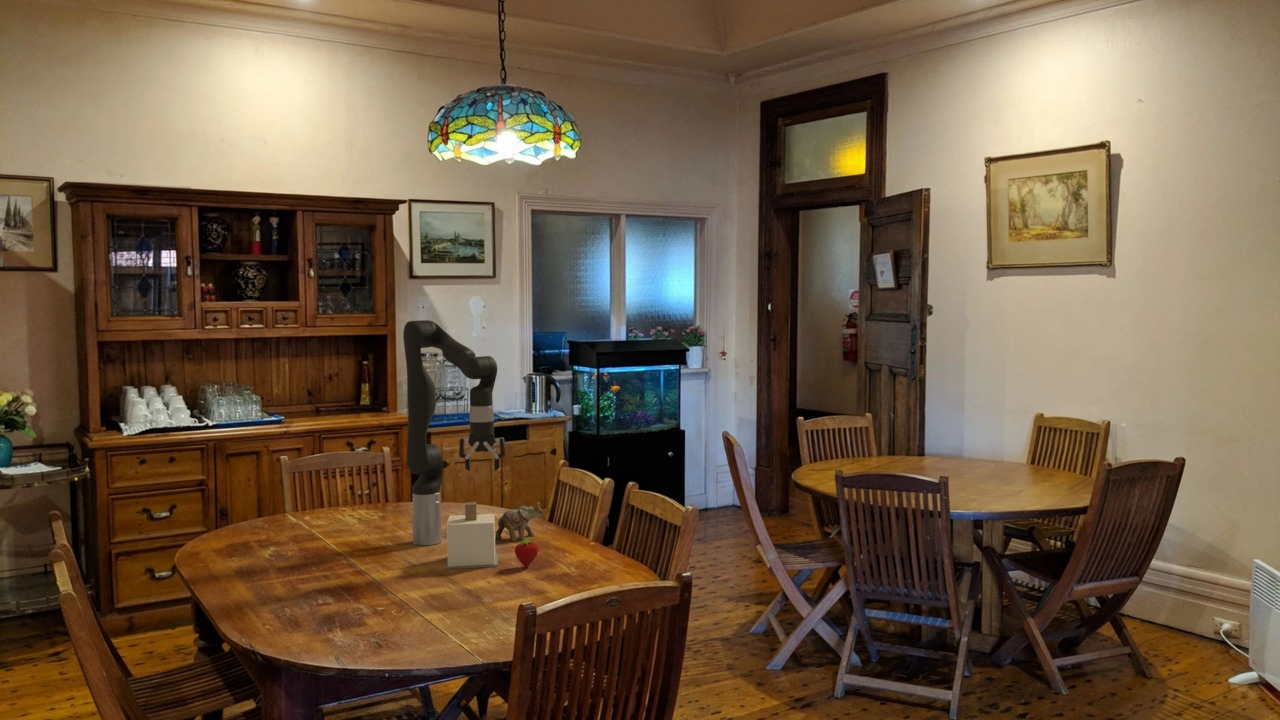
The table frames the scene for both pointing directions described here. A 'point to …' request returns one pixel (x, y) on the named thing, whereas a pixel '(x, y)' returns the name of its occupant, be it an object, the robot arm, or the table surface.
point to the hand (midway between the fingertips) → (482, 470)
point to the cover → (471, 538)
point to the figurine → (518, 521)
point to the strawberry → (526, 551)
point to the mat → (473, 565)
